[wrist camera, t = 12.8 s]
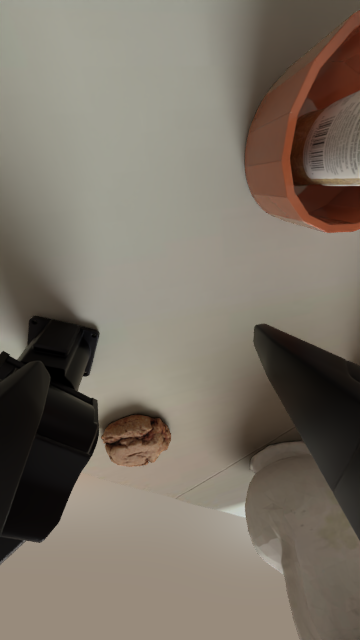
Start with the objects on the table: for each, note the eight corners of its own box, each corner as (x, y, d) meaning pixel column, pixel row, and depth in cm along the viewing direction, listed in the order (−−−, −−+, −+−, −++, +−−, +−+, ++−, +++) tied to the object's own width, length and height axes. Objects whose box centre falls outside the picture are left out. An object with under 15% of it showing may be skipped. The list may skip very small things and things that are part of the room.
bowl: (316, 236, 21) (368, 253, 16) (222, 192, 18) (250, 196, 13) (401, 101, 16) (514, 65, 11) (294, 17, 14) (379, -81, 9)
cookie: (105, 456, 36) (102, 476, 33) (100, 413, 30) (96, 434, 28) (167, 452, 37) (169, 472, 35) (173, 411, 32) (175, 430, 29)
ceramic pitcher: (201, 468, 44) (240, 736, 23) (264, 414, 34) (420, 788, 14) (285, 478, 50) (371, 693, 30) (357, 435, 41) (553, 707, 20)
